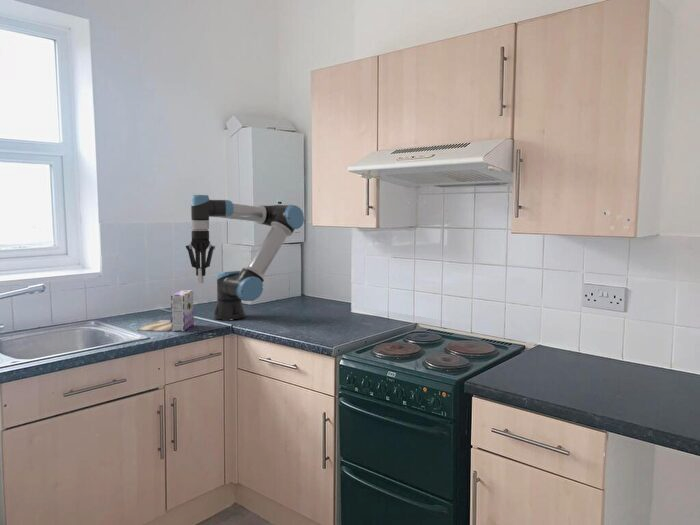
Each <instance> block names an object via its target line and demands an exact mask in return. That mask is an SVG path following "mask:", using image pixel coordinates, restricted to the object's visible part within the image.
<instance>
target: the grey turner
mask: <svg viewBox="0 0 700 525" xmlns="http://www.w3.org/2000/svg"><path fill="white" fill-rule="evenodd" d="M157 322H171V323H172V319H160V320H158V321H157Z"/></svg>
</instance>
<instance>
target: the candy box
mask: <svg viewBox="0 0 700 525" xmlns="http://www.w3.org/2000/svg"><path fill="white" fill-rule="evenodd" d="M170 300H171V301H170V304H171V305H170V306H171V308H170V309H171V313H170V314H171V320H172V322H171V323H172V330H171V332H179V331H184V332H186V331H187V330H188V329H190V328H191V327H193V326H194V325H195V324H194V323H195V322H194V320H195V319H194V318H195V316H194V290H192V289H182V290H179V291H177V292H175V293H173V294H171V295H170ZM192 325H193V326H192ZM189 327H190V328H189ZM186 329H187V330H186ZM185 330H186V331H185Z"/></svg>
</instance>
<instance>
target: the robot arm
mask: <svg viewBox="0 0 700 525" xmlns="http://www.w3.org/2000/svg"><path fill="white" fill-rule="evenodd" d="M190 198H191V200H190V212H191V213H190V214H191V220H190V221H191V227H190V228H191V241H190V243H189V244H188V245H185V249H186V250H187V252H188V258H189V260H190V264H191V267H192V268H194V269H195V275H196V277H197V284H200V285H201V284H204V276H206V274H207V273H206V269H207V268H209V267H211V266H210V265H211V263H212V262H211V261H212V258H213V253H214V251H215V249H216V246H215V245H212V244H211V241H210V231H209V229H210V217H211V218H212V217H213V218H222V219H223V218H224V219H230V220H238V221H239V220H240V221H246V222H255V223H257V224H258V225H264V226H269V227H271V228H270V230H269V232H268V233H267V235H266V236H265V238H264V239H263V241H262V243H261V245H260V246H259V248H258V249H257V250H256V253H255V254H254V255H253V258H252V259H251V261H250V262H249V264H248V266H246V267H242V269H241V270H233V271H221V272H220V271H219V272H218V273H217V275H216V287H217V288H216V289H217V290H216V291H217V292H216V293H217V295H216V296H217V297H216V300H217V301H216V302H217V303H216V307H215V309H214V312H213V318H215V319H214V320H217V319H222V320H221V321H231V320H230V319H239V320H241V319H240V318H243V317H245V318H246V310H245V309H244V306H243V302H242V301H244V302H252V301H256V300H257V299H258V298H260V296H261V295H262V294H263V291H264V288H263V287H264V284H263V283H264V281H265V280H264V275H265V273H266V272H267V270H268V269H269V267H270V266H271V264H272V262H273V260H274V259H275V257H276V256H277V254H278V252H279V251H280V248H281V247H282V245H283V244H284V242H285V241H286V238H287V237H291V236H292V235H293V233H294V231H295V230H299V229H301V227H302V226H303V225H304V222H305V216H304V214H305V213H304V212H303V210H302V208H301V207H300V206H298V205H294V204H273V205H264V204H263V205H262V204H260V205H258V206H254V205H248V204H247V205H246V204H241V203H240V204H239V203H234V202H233V201H232V200H228V199H210V197H209V195H208V194H193V195H191V197H190ZM207 249H208V252H207ZM193 250H194V251H193ZM194 254H195V255H194ZM206 254H207V256H206ZM243 319H244V318H243Z"/></svg>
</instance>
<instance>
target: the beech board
mask: <svg viewBox="0 0 700 525" xmlns="http://www.w3.org/2000/svg"><path fill="white" fill-rule="evenodd" d="M171 329H172V322H158V321H153V322H150V323H148V324H146V325H143V326H142V327H139V328H137V329H136V330H137V331H138V332H159V331H167V332H166V333H168V332H170V331H172V330H171Z"/></svg>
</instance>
